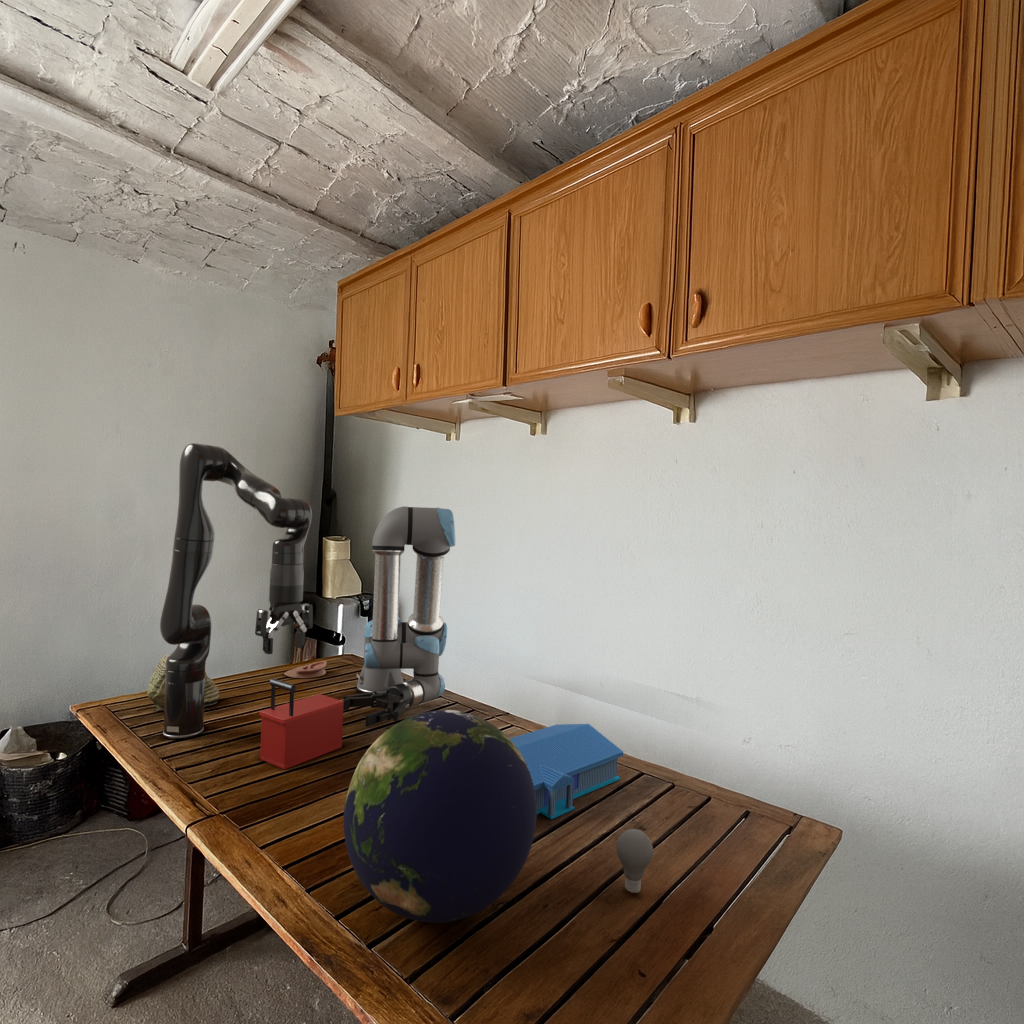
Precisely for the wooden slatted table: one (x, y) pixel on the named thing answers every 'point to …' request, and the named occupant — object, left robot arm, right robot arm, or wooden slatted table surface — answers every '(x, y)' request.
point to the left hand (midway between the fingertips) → (284, 650)
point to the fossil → (158, 687)
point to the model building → (567, 764)
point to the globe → (440, 816)
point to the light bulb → (634, 857)
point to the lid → (297, 705)
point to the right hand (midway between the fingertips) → (348, 715)
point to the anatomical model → (308, 670)
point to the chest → (301, 738)
